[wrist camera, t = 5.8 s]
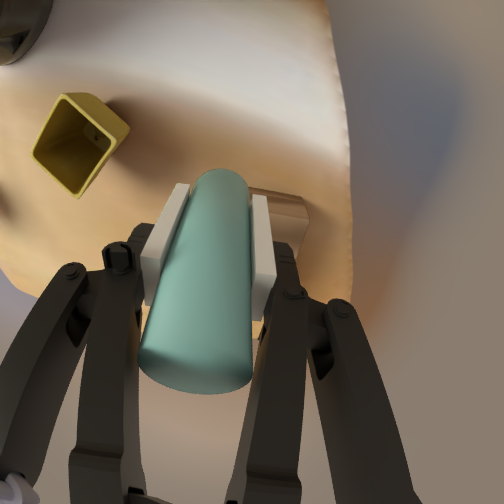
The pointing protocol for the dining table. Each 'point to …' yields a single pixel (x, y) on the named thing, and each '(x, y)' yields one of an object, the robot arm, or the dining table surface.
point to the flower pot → (77, 140)
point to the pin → (204, 294)
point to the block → (285, 217)
